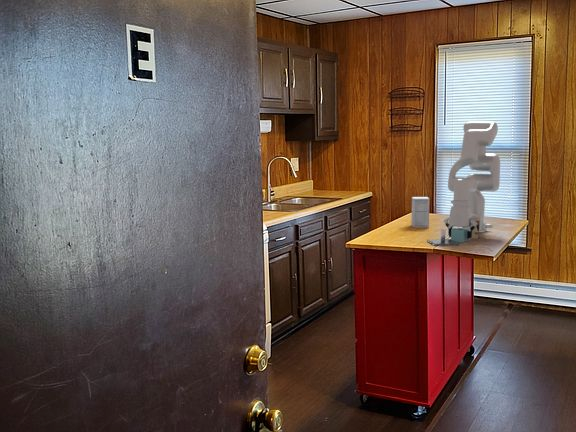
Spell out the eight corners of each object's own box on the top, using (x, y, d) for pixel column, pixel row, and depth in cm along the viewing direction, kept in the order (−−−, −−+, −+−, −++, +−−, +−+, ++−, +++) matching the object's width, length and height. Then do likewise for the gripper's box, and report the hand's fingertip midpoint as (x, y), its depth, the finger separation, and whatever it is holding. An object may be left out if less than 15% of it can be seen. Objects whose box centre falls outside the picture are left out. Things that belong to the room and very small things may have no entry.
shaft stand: (450, 241, 302) (451, 227, 301) (459, 245, 290) (459, 231, 289) (427, 241, 301) (427, 227, 300) (434, 245, 289) (435, 231, 288)
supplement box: (427, 225, 354) (428, 196, 352) (429, 227, 345) (430, 198, 343) (410, 225, 355) (411, 196, 353) (412, 227, 346) (413, 198, 344)
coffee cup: (477, 239, 306) (478, 216, 305) (458, 237, 311) (459, 214, 310) (482, 236, 314) (483, 214, 312) (464, 235, 319) (464, 212, 317)
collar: (456, 239, 308) (457, 227, 307) (468, 240, 303) (469, 228, 303) (450, 240, 303) (451, 228, 302) (463, 242, 299) (463, 230, 298)
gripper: (441, 203, 303) (440, 236, 306) (474, 205, 292) (473, 240, 294) (448, 201, 309) (447, 234, 311) (481, 204, 298) (479, 238, 300)
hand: (459, 237), depth 303 cm, fingers open, 9 cm apart
